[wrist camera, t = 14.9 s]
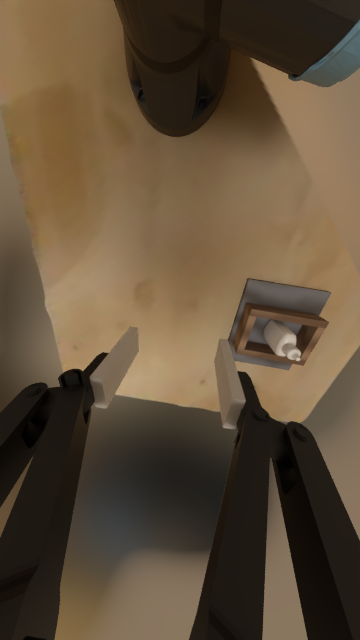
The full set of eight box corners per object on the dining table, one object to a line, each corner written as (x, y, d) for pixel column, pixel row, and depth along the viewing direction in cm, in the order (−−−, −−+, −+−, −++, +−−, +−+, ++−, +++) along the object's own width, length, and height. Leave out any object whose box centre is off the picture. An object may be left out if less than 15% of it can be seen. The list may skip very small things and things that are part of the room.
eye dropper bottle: (256, 331, 41) (277, 362, 30) (274, 315, 39) (304, 342, 28) (268, 341, 42) (292, 374, 31) (286, 326, 40) (320, 356, 29)
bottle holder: (247, 278, 37) (255, 283, 32) (328, 291, 36) (348, 298, 32) (223, 356, 46) (226, 369, 41) (286, 367, 46) (297, 382, 41)
